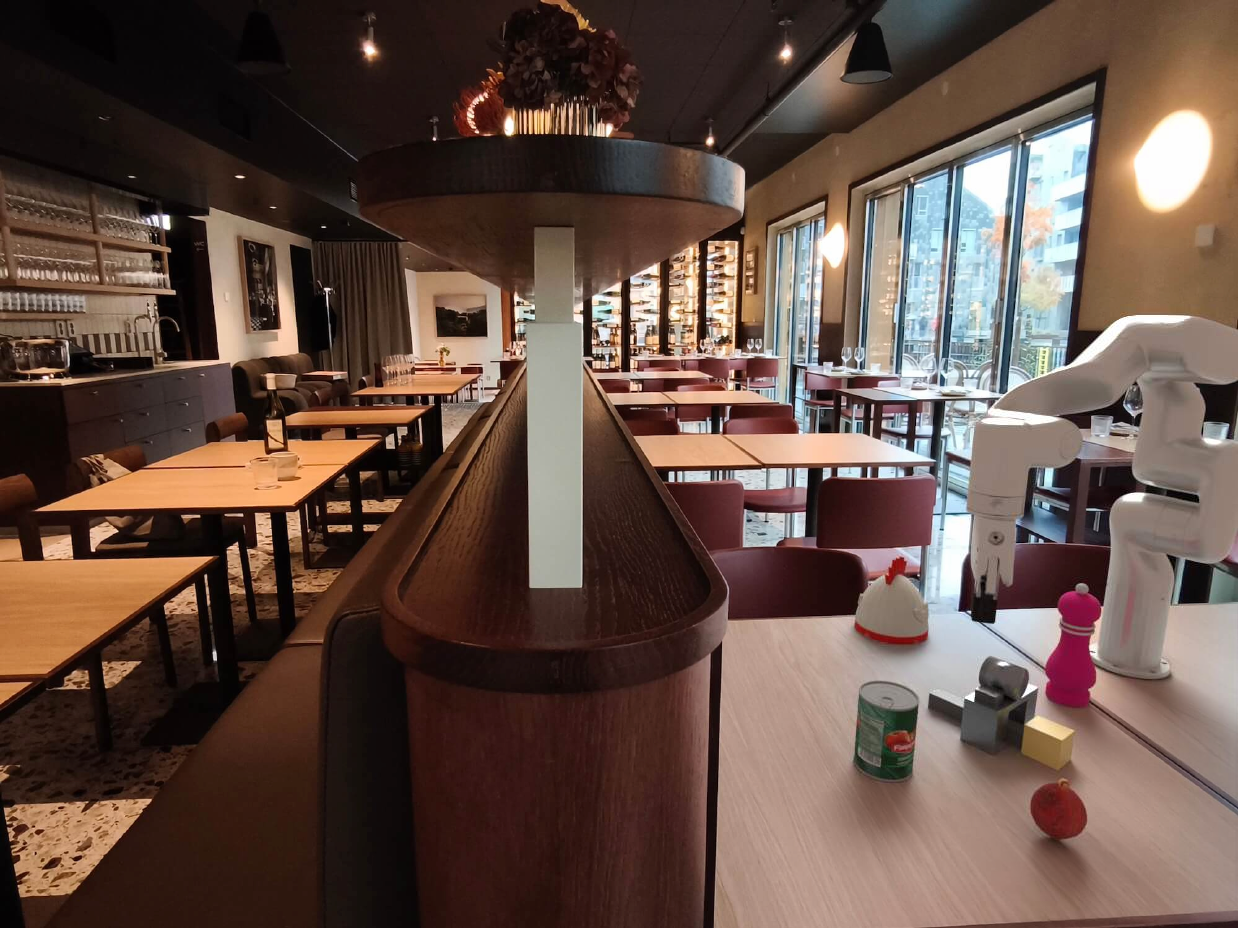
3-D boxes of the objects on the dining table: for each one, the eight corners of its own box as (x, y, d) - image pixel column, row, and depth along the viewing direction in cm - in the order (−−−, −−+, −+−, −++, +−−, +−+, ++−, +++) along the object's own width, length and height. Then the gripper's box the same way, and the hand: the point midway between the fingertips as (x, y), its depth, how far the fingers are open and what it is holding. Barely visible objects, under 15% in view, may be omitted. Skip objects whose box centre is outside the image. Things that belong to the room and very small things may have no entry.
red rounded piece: (1055, 859, 85) (1063, 798, 83) (1015, 826, 90) (1023, 769, 89) (1094, 849, 87) (1103, 789, 85) (1053, 818, 92) (1061, 761, 90)
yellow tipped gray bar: (938, 701, 120) (941, 675, 119) (1070, 759, 104) (1074, 730, 103) (925, 708, 118) (927, 682, 117) (1057, 770, 102) (1062, 740, 101)
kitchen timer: (938, 629, 147) (945, 558, 144) (911, 651, 138) (918, 576, 135) (872, 610, 157) (877, 543, 154) (842, 630, 147) (847, 559, 144)
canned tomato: (858, 743, 108) (864, 674, 106) (915, 758, 104) (922, 687, 102) (848, 772, 101) (854, 700, 99) (909, 789, 98) (916, 714, 95)
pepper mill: (1100, 711, 117) (1118, 593, 113) (1051, 706, 118) (1066, 590, 114) (1081, 689, 124) (1098, 577, 120) (1035, 684, 125) (1049, 574, 121)
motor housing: (1000, 713, 116) (1008, 646, 114) (1033, 727, 112) (1042, 658, 110) (960, 739, 109) (967, 667, 107) (993, 755, 105) (1002, 681, 103)
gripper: (1032, 519, 99) (1017, 645, 102) (1017, 493, 112) (1004, 605, 116) (971, 513, 101) (958, 636, 105) (963, 489, 115) (952, 599, 119)
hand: (982, 620), depth 110 cm, fingers closed
